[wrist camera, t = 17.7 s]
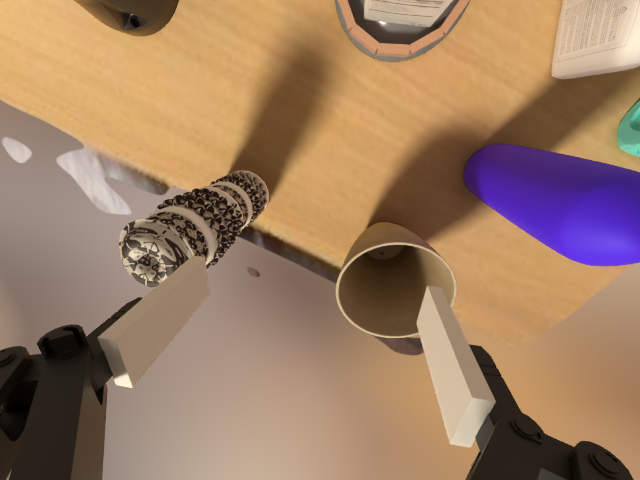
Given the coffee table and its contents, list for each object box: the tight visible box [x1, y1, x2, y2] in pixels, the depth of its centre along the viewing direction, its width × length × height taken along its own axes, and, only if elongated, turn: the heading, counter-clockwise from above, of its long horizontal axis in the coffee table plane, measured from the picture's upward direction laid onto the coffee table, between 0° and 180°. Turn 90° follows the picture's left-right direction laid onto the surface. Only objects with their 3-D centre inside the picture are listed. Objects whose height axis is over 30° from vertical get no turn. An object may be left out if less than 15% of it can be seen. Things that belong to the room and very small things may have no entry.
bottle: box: [464, 144, 640, 266], centre depth 28 cm, size 8×8×30 cm
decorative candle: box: [119, 170, 269, 288], centre depth 37 cm, size 9×9×25 cm
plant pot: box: [336, 222, 457, 338], centre depth 41 cm, size 15×15×16 cm
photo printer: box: [552, 0, 640, 79], centre depth 28 cm, size 10×4×12 cm, turn 9°
